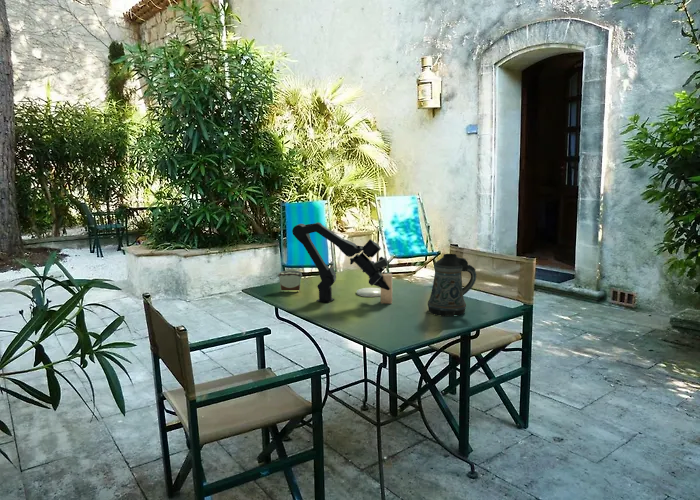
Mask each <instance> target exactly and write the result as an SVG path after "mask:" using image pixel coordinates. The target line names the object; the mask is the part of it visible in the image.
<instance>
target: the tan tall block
mask: <svg viewBox="0 0 700 500" xmlns="http://www.w3.org/2000/svg"><path fill="white" fill-rule="evenodd" d="M381 275H383V280H384V281H385V282H386V284H387V285H388V287H389V288H390V289H389V290H386V289H383V288H381V287H380V289H381V296H380V304H388V305H389V304H390V305H391V304H392V303H393V273H386V272H385V273H383V272H382V274H381Z"/></svg>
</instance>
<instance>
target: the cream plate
mask: <svg viewBox="0 0 700 500" xmlns="http://www.w3.org/2000/svg"><path fill="white" fill-rule="evenodd" d="M356 295H358V296H360V297H367V298H375V297H377V298H378V297H381V287H363V288H359V289H357V290H356Z"/></svg>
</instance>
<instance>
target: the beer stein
mask: <svg viewBox="0 0 700 500" xmlns="http://www.w3.org/2000/svg"><path fill="white" fill-rule="evenodd" d="M433 267H434V268H433V269H434V276H433V282H432V283H433V284H432V289H431V292H430V296H429V299H428V301H427V308H428V312H429V314H432V315H434V314H435V316H438V315H441V316H440V317H455V316H454V315H459V316H461V315H460V314H462V315H464V314H465V313H466V308H467V303H466V300H465V298H464V297H465V296H464V295H465V294H467V293H468V292H469V291H470V290H471V289H472V288H473V287H474V285H475V283H476V280H477V272H476V268H475V267H474V266H472V265H471V264H469V262H468V260H467V259H466V258H463V257H458V255H457V254H456V253H444V254H443V256H442V257H441V258H440V259H438V260H437V261H436V262H435V263H434V264H433ZM462 272H463V273H464V272H465V273H466V272H468V273H469V274H470V279H469V281H468V283H466V285H464V287H463V281H462V280H463V279H462ZM464 312H465V313H464ZM463 313H464V314H463Z"/></svg>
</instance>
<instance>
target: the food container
mask: <svg viewBox="0 0 700 500" xmlns="http://www.w3.org/2000/svg"><path fill="white" fill-rule="evenodd" d="M277 277H278V279H279V280H278V281H279V286H280V287H279V288H280V291H281V290H300V291H301V281H302V280H301V279H302V277H303V274H302V272H301V271H299V270H283V271H282V270H281V271H279V272H278V274H277Z"/></svg>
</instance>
